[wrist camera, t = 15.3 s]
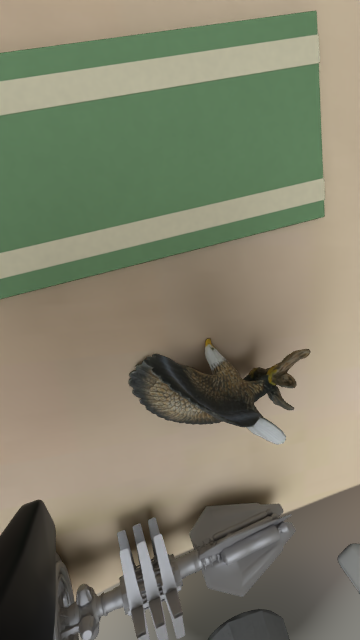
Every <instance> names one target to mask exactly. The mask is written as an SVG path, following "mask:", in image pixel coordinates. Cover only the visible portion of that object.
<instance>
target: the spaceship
mask: <svg viewBox="0 0 360 640" xmlns="http://www.w3.org/2000/svg"><path fill="white" fill-rule="evenodd" d="M282 513H283V509H282V507H281V505H280V504H263V505H260V504H259V503H247V504H233V505H219V506H206V508H205V509H204V511H203V512H202V514H201V515H200V517H199V519H198V520H197V522H196V523H195V525H194V526H193V528H192V529H191V531H190V533H189V535H190V538H191V541H192V544H193V547H194V550H193V551H191V552H189V553H187V554H185V555H183V556H181V557H178V558H174V555H173V554H171V555H169V554H168V555H167V551H166V548H165V544H164V541H163V537H162V535H161V534H160V533H159V529H158V525H157V521H156V518H155V517H154V518H152V519H149V520H148V524H149V530H150V535H151V541H152V546H153V552H154V557H153V559H151V560H150V557H149V553H148V549H147V546H146V542H145V538H144V535H143V531H142V527H141V524H140V523H139V524H137V525H135V526H133V531H134V536H135V542H136V547H137V552H138V558H139V563H140V565H138V566H136V565H135V563H134V560H133V556H132V553H131V549H130V546H129V542H128V539H127V535H126V532H125V530H123V531H120V532H118V533H117V536H118V541H119V546H120V558H121V564H122V569H123V574H124V575H123V576H121V577H120V578H119V579H120V586H118V587H116V588H114V589H113V590H111V591H109V592H107V593H104V592H103V593H102V594H101V595H100V596H97V595H96V594H95V592H94V590H93V588H92V587H89V586H88V585H87V584H82V585H81V586H80V587H79V588H78V590H77V596H76V602H75V601H74V595H73V590H72V585H71V581H70V577H69V573H68V571H67V568H66V566H65V564H64V563H63V562H62V561H61V558H60V556H59V555H58V554H57V553H56V612H55V626H54V637H53V640H79V638H78V637H79V636H78V632H79V633H80V636H81V638H82V639H83V640H94V639H95V638H96V637H97V635H98V633H99V621H100V618H101V616H103V615H105V616H106V615H107V613H109V612H111V611H113V610H115V609H118V608H121V607H123V606H124V610H125V614H128V615H131V616H132V620H133V623H134V627H135V631H136V636H137V638H138V640H150V638H149V633H148V627H147V622H146V618H145V610H146V609H148V608H149V609H150V612H151V616H152V620H153V623H154V626H155V630H156V634H157V637H158V640H168V635H167V630H166V625H165V619H164V613H163V608H162V601H164V600H165V602H167V606H168V610H169V612H170V615H171V619H172V623H173V626H174V630H175V634H176V637H177V639H179V638H181V637H183V636H184V635H185V631H184V625H183V620H182V615H183V612H182V608H181V604H180V601H179V596H178V591H180V590H181V586H183V584H182V579H183V578H185V577H186V576H188V575H190V574H192V573H194V572H195V573H196V572H197V571H199V570H202V572H203V575H204V578H205V581H206V584H207V587H208V588H209V589H213V590H217V591H221V592H225V593H229V594H233V595H237V596H241V597H243V596H244V595H245V594H246V592H247V591H248V590H249V589H250V588H251V587H252V586H253V584H254V583H255V582H256V581H257V580H258V578H259V577H260V576H261V575H262V574H263V572H265V570H266V569H267V568H268V567H269V566H270V565H271V563H272V562H273V561H274V560H275V559H276V558H277V556H278V555H279V554H280V553H281V552H282V550H283V546H284V544H285V543H286V542H287V541H288V540H289V538H290V537H291V536H292V535H293V534H294V532H295V528H294V526H293V524H292V523H291V522H286V523H285V522H283V521H284V520H285V519H287V518H288V517H290V516H291V515H292V514H290V515H287V516H284V517H282V518H280V517H279V516H280V515H281V514H282ZM152 560H154V561H152ZM151 561H152V562H151ZM139 566H140V567H139ZM137 567H139V568H137ZM136 568H137V569H136ZM147 606H148V607H147ZM145 607H146V608H145Z"/></svg>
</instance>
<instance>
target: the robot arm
mask: <svg viewBox="0 0 360 640" xmlns="http://www.w3.org/2000/svg"><path fill="white" fill-rule="evenodd" d="M55 612H56V531H55V525H54V522H53V520H52V518H51V516H50V514H49V512H48V510H47V508H46V506H45V504H44V503H43V501H42V500H36V501H33V502H30V503H27V504H25V505H23V506H22V507H21V508H20V509H19V510H18V512H17V513H16V514H15V516H14V517H13V519H12V520H11V521H10V523H9V524H8V526H7V527H6V528H5V530H4V531H3V533H2V534H1V535H0V640H53V637H54V626H55Z"/></svg>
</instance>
